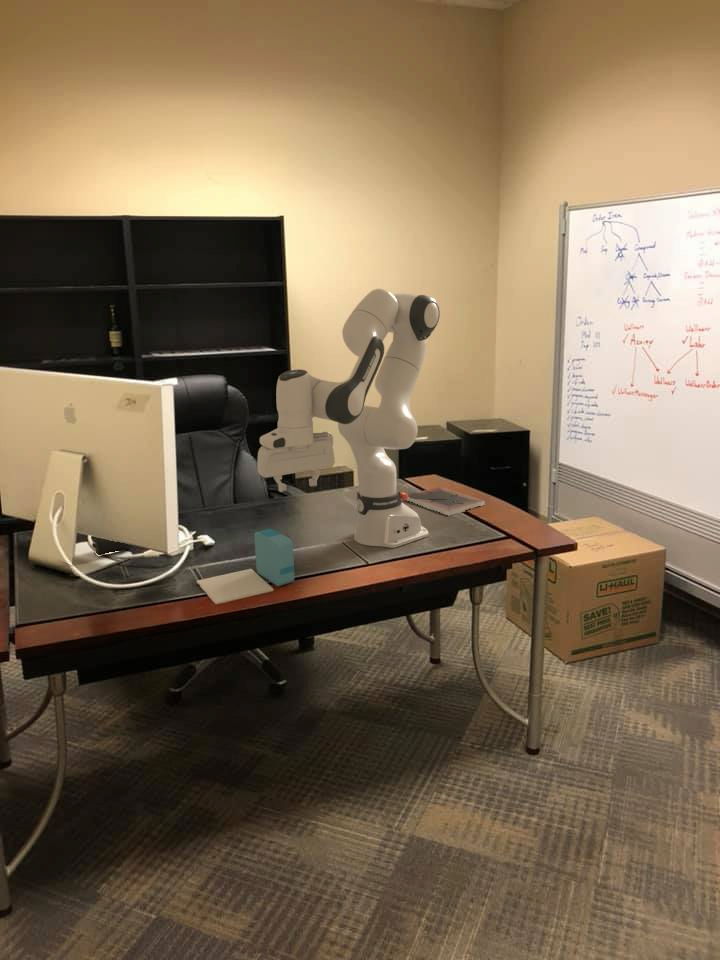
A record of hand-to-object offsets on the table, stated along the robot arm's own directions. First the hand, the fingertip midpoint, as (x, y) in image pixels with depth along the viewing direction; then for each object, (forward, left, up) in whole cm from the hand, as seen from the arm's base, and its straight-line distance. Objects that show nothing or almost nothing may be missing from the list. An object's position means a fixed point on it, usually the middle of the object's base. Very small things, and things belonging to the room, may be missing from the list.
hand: (297, 488), depth 190 cm
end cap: (+40, -41, -23) cm, 62 cm away
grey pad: (+19, 0, -23) cm, 30 cm away
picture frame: (-66, -28, -24) cm, 76 cm away
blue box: (+8, 0, -23) cm, 25 cm away
